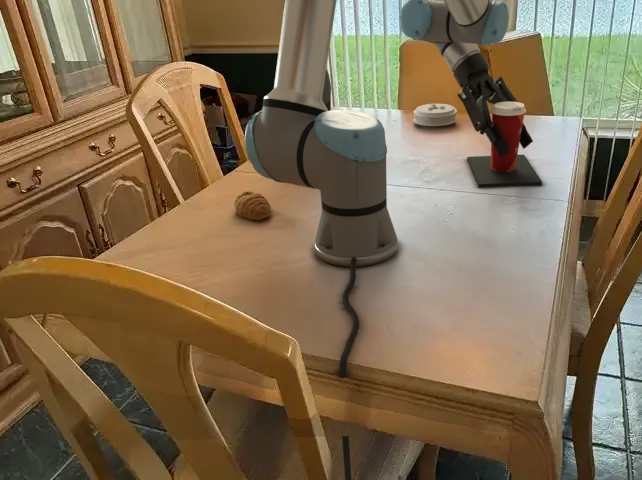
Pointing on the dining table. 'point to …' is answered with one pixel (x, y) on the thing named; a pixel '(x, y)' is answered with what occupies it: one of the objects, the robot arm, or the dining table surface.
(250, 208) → the pastry
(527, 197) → the dining table surface
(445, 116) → the lid
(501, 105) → the paper cup
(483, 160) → the dark mat
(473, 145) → the dining table surface
